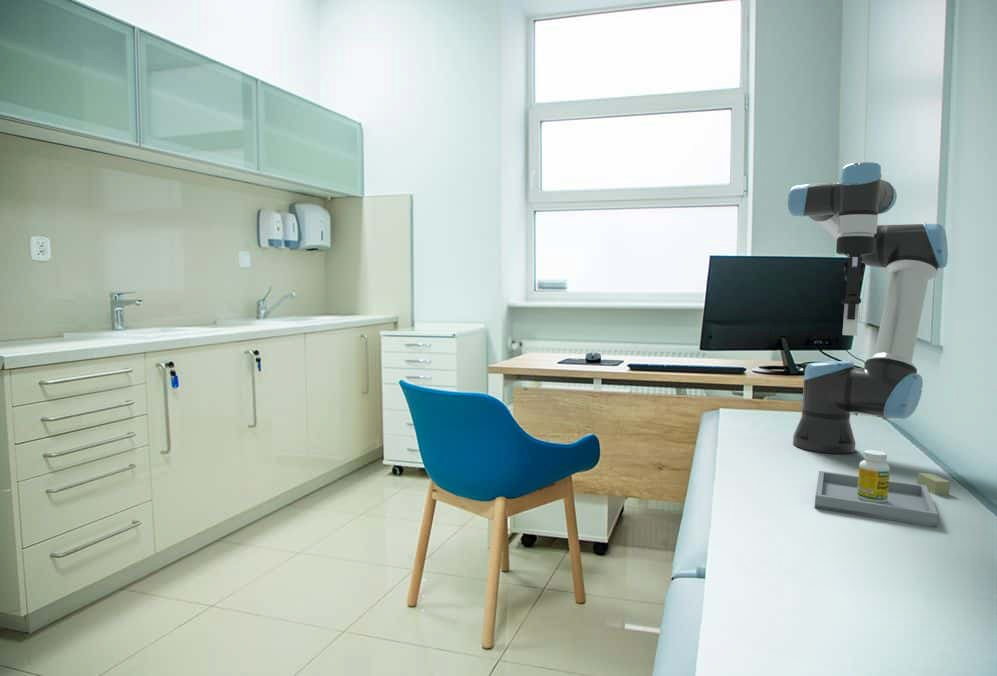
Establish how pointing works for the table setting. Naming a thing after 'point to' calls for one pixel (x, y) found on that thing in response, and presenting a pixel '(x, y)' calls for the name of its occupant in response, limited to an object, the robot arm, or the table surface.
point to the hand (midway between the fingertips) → (849, 333)
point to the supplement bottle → (873, 477)
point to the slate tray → (900, 506)
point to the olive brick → (934, 483)
